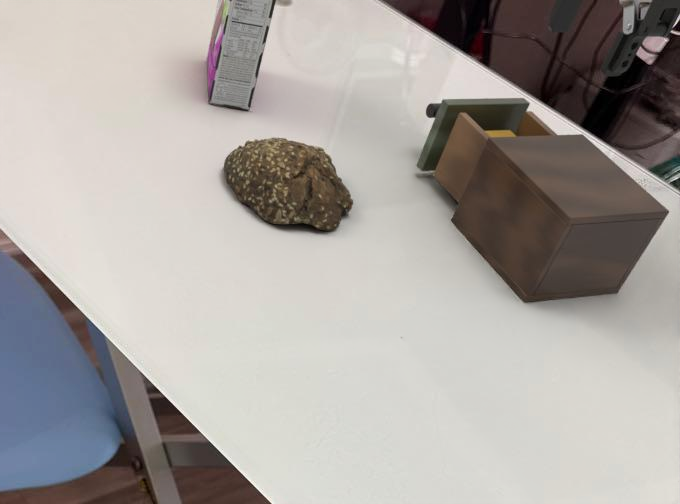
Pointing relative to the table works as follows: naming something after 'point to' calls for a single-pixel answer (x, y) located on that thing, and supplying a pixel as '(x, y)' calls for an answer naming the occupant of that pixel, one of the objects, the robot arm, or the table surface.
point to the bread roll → (288, 183)
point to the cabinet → (556, 216)
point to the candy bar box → (237, 50)
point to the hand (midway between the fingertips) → (582, 52)
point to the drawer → (471, 135)
